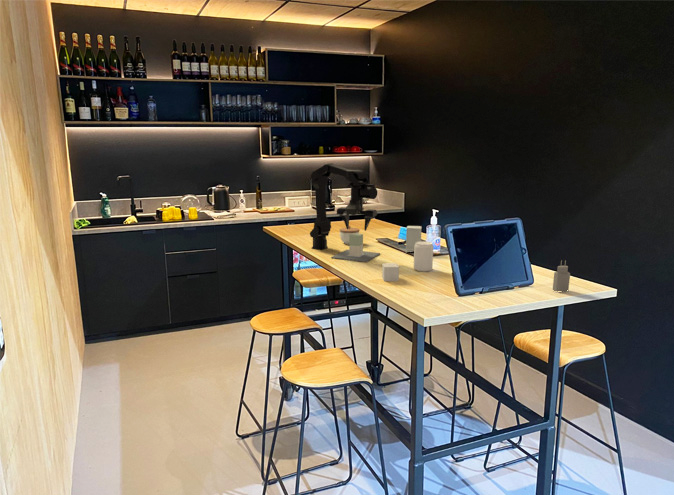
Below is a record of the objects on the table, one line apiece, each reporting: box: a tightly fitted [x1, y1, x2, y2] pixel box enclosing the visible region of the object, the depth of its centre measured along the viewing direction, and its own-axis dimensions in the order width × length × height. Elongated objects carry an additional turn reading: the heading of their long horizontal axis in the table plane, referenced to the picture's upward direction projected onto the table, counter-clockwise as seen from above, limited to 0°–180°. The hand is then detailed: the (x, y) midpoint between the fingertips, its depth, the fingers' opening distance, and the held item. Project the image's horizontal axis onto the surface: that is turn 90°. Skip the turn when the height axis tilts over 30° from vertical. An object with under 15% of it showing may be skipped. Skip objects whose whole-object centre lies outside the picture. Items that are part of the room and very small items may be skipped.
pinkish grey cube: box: [381, 262, 400, 282], centre depth 205 cm, size 6×6×6 cm
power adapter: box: [552, 259, 571, 292], centre depth 190 cm, size 3×5×12 cm, turn 106°
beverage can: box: [413, 240, 434, 272], centre depth 219 cm, size 8×8×12 cm
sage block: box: [348, 233, 364, 246], centre depth 242 cm, size 5×5×5 cm
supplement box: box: [405, 225, 423, 253], centre depth 253 cm, size 7×7×13 cm
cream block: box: [348, 243, 364, 256], centre depth 243 cm, size 5×5×5 cm
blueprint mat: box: [330, 249, 381, 263], centre depth 244 cm, size 18×18×1 cm
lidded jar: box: [339, 225, 360, 245], centre depth 272 cm, size 11×11×9 cm
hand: (356, 229), depth 241 cm, fingers open, 9 cm apart
